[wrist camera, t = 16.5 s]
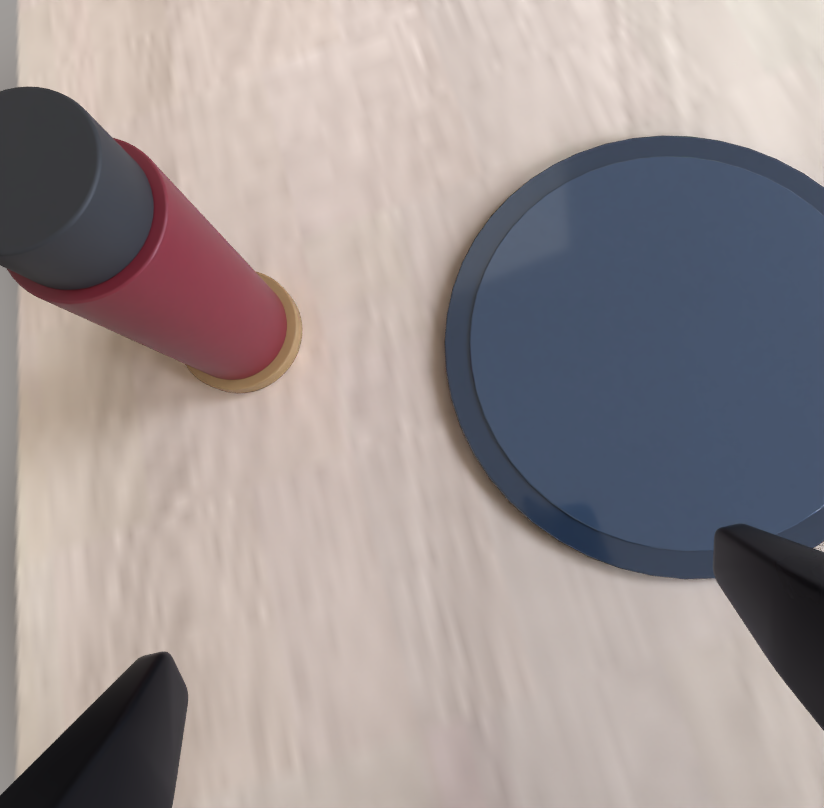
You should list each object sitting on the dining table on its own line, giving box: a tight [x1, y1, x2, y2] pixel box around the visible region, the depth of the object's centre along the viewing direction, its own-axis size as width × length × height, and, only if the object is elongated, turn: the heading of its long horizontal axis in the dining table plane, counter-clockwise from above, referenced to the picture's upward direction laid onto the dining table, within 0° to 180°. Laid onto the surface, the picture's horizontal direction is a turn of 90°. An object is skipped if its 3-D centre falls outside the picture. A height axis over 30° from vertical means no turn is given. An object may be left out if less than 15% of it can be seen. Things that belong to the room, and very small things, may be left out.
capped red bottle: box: [0, 87, 302, 393], centre depth 17 cm, size 5×5×12 cm
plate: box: [445, 136, 824, 579], centre depth 21 cm, size 18×18×1 cm
